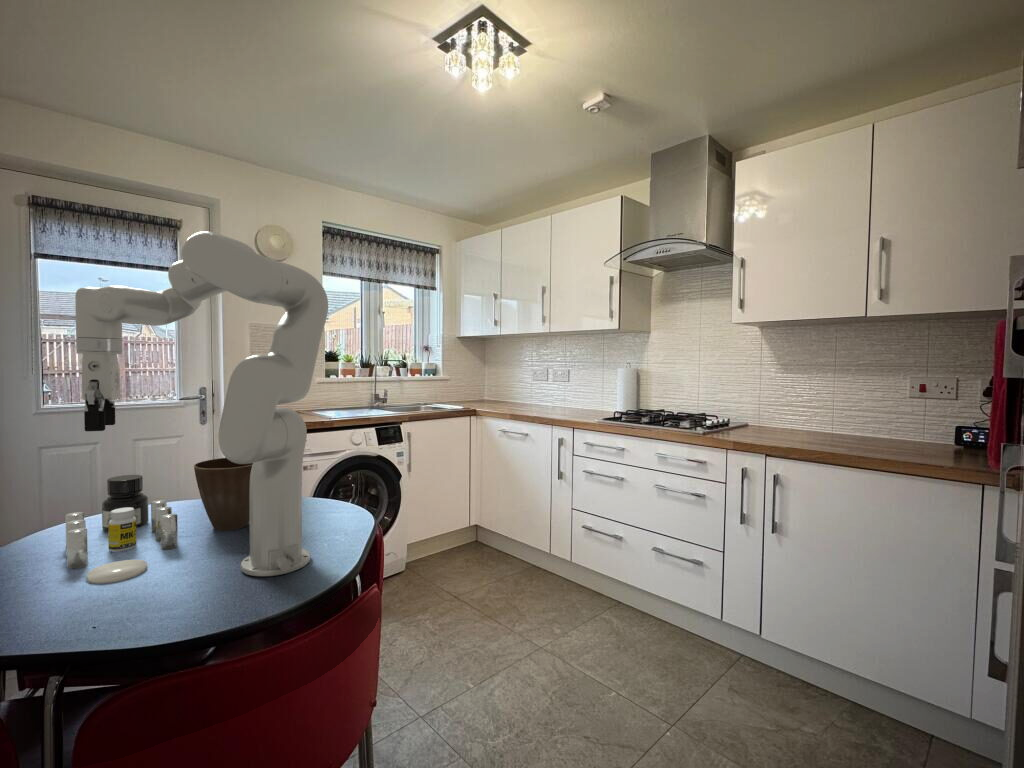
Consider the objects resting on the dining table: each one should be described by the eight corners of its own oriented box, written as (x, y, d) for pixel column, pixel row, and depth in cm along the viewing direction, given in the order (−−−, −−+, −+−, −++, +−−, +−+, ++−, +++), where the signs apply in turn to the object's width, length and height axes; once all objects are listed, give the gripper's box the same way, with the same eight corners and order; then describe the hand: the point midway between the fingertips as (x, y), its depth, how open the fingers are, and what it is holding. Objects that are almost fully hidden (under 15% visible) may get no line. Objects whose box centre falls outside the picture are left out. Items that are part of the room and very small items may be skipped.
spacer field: (178, 548, 108) (178, 516, 107) (67, 570, 95) (66, 534, 95) (165, 528, 120) (165, 499, 120) (65, 545, 108) (65, 513, 108)
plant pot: (188, 540, 112) (188, 470, 112) (200, 520, 126) (199, 458, 125) (262, 532, 118) (262, 466, 118) (265, 514, 132) (265, 454, 131)
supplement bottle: (121, 553, 104) (120, 513, 104) (102, 551, 105) (102, 512, 105) (142, 545, 109) (141, 507, 109) (124, 543, 110) (124, 505, 109)
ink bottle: (91, 533, 116) (90, 482, 115) (116, 521, 125) (115, 473, 124) (136, 532, 117) (135, 481, 117) (158, 520, 126) (157, 473, 125)
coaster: (150, 574, 94) (150, 570, 94) (88, 588, 88) (88, 583, 88) (143, 559, 101) (143, 556, 101) (85, 572, 95) (85, 567, 95)
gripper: (113, 347, 99) (114, 432, 100) (129, 348, 114) (130, 422, 115) (64, 345, 95) (65, 434, 96) (87, 347, 110) (88, 423, 111)
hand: (100, 427), depth 105 cm, fingers open, 9 cm apart
